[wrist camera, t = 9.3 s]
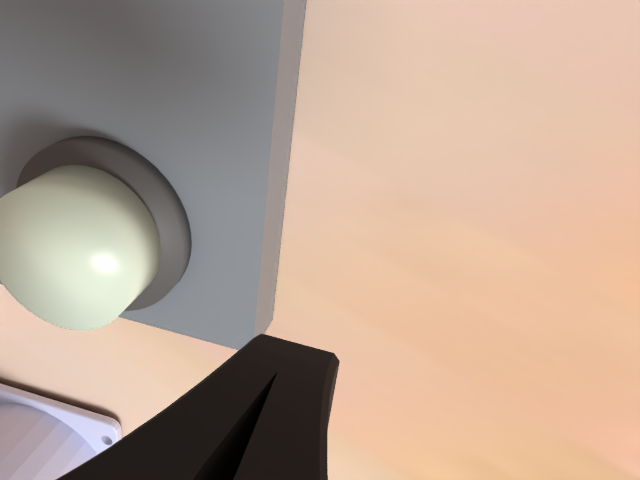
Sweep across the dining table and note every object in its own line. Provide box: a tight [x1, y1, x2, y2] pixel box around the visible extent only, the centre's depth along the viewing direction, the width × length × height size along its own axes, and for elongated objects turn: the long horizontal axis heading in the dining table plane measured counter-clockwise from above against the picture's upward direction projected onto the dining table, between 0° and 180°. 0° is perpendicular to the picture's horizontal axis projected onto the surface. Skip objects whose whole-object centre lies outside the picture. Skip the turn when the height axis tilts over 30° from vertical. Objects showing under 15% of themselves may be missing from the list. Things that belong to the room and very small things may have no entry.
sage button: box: [0, 165, 161, 331], centre depth 17 cm, size 4×4×2 cm
